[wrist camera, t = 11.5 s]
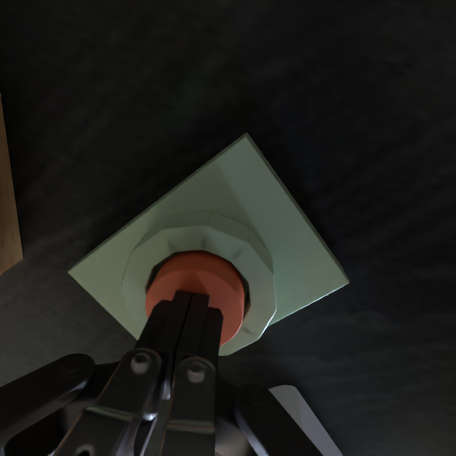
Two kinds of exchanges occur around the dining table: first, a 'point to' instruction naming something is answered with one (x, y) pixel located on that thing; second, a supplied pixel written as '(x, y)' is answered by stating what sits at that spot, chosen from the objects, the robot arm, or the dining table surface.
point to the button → (202, 286)
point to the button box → (219, 244)
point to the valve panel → (7, 207)
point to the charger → (304, 419)
